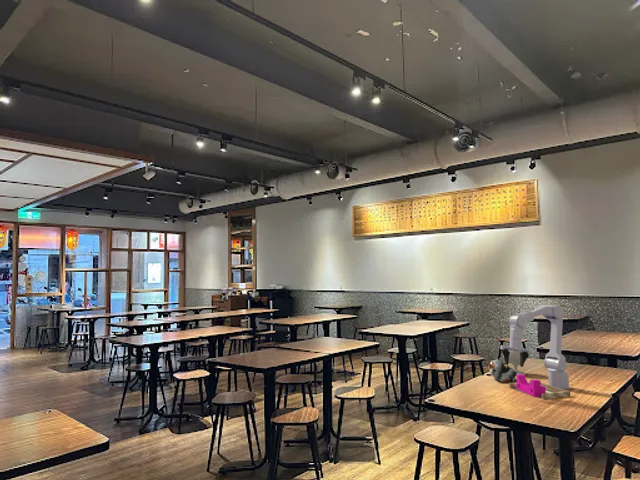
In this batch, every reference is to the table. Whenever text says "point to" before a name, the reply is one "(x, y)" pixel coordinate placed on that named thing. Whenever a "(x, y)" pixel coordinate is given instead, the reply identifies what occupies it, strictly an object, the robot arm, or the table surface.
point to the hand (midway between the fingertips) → (514, 365)
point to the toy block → (530, 386)
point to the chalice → (515, 360)
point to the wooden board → (550, 391)
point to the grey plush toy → (501, 371)
